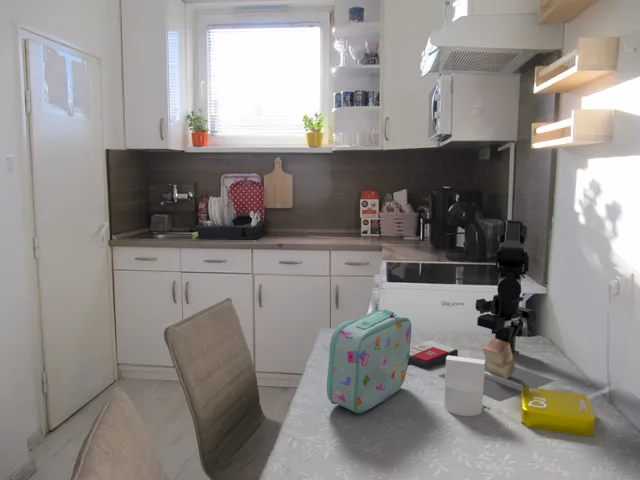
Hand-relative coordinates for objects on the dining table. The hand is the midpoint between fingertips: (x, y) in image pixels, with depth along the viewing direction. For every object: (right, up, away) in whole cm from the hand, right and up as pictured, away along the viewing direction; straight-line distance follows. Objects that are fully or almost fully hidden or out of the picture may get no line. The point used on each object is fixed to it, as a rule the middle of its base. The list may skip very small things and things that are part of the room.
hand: (505, 348), depth 152 cm
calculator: (-18, -7, +14) cm, 24 cm away
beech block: (0, -7, +1) cm, 7 cm away
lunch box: (-38, -10, -13) cm, 41 cm away
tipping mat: (-3, -9, -1) cm, 9 cm away
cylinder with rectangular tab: (-16, -11, -18) cm, 26 cm away
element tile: (+4, -12, -22) cm, 26 cm away
